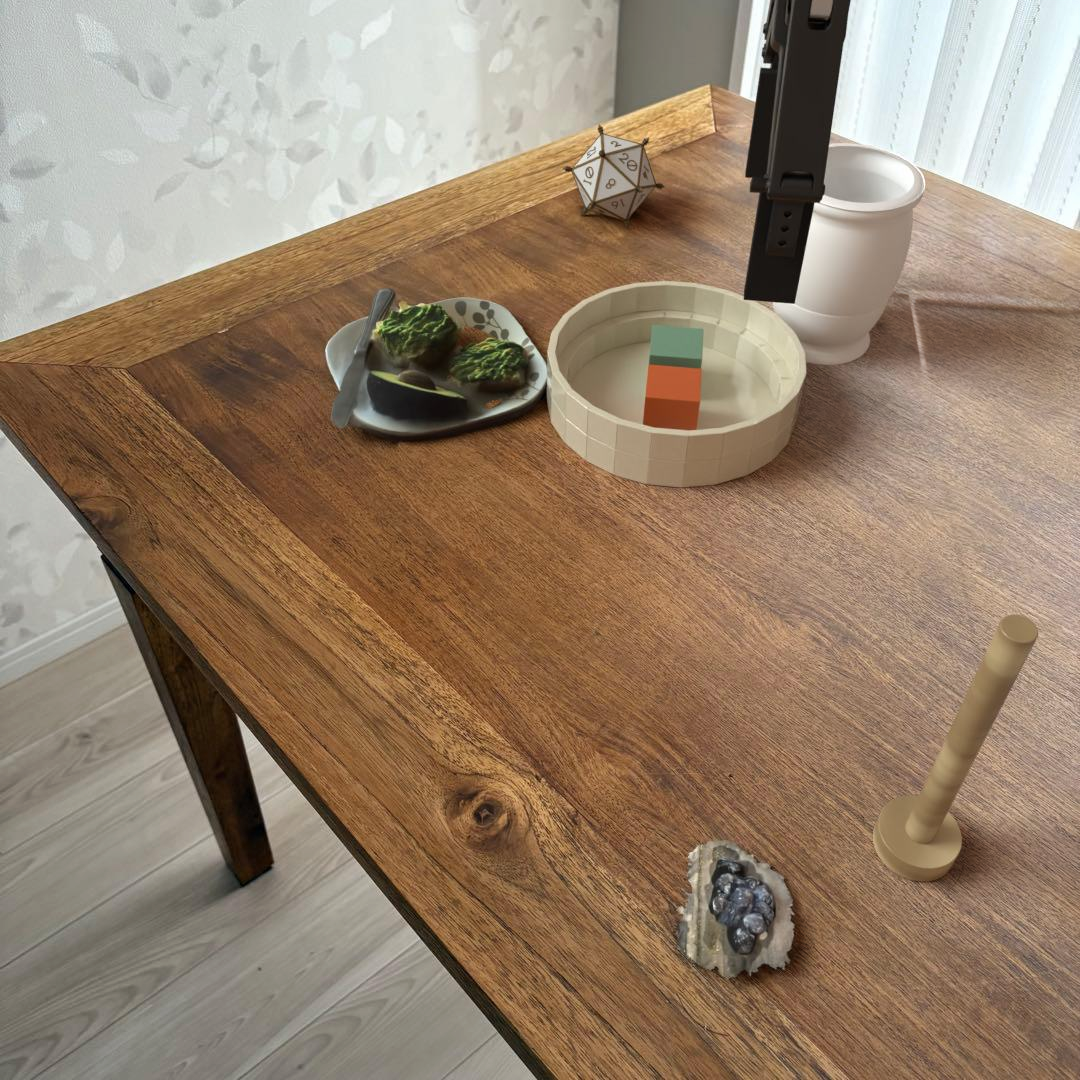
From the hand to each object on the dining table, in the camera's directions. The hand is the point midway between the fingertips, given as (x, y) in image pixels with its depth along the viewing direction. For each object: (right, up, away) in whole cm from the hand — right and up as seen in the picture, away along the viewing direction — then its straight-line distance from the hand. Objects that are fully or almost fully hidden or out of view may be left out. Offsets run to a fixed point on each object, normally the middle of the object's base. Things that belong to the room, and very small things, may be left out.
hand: (767, 233), depth 64 cm
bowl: (-3, -7, +23) cm, 24 cm away
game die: (-6, +14, +44) cm, 46 cm away
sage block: (-3, -5, +24) cm, 25 cm away
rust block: (-3, -9, +20) cm, 23 cm away
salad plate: (-22, -5, +25) cm, 34 cm away
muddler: (+7, -34, -4) cm, 35 cm away
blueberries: (-3, -37, -6) cm, 38 cm away
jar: (+10, -1, +29) cm, 31 cm away
